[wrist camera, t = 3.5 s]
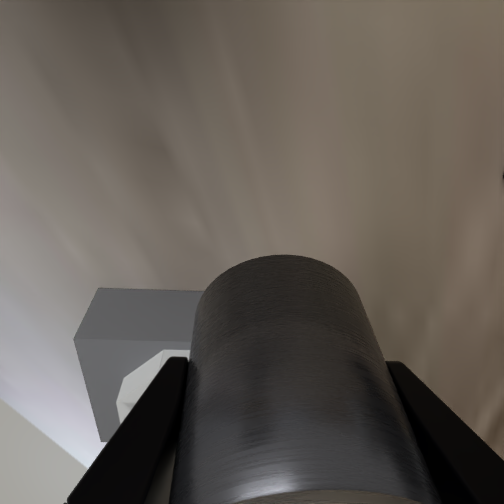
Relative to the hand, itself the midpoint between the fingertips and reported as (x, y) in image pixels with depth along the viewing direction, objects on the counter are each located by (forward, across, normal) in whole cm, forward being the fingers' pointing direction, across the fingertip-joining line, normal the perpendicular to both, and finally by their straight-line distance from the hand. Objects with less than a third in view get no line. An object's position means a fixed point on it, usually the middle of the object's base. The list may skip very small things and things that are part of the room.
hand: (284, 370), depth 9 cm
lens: (+2, 0, 0) cm, 2 cm away
